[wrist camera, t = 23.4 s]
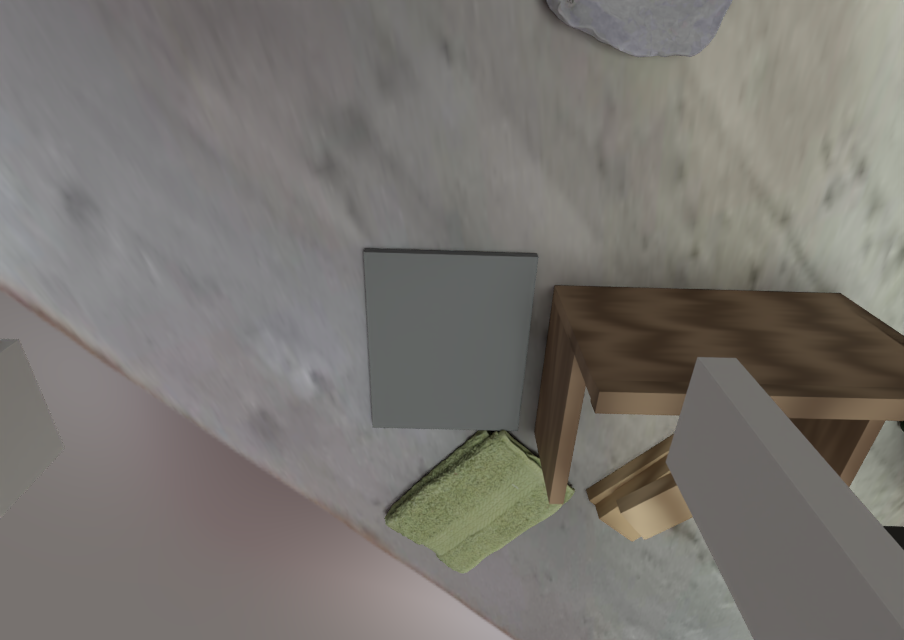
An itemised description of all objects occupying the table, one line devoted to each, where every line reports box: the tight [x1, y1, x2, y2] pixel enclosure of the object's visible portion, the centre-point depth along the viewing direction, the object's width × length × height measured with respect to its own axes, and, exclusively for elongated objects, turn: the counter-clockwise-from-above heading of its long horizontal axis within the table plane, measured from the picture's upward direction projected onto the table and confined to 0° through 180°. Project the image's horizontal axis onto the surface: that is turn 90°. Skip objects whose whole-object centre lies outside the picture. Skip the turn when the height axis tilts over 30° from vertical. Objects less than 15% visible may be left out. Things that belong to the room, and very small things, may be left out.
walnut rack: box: [534, 285, 904, 504], centre depth 42 cm, size 24×16×15 cm, turn 88°
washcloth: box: [384, 430, 575, 573], centre depth 55 cm, size 13×18×3 cm
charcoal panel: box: [364, 249, 538, 431], centre depth 47 cm, size 14×18×1 cm
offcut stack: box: [586, 434, 693, 542], centre depth 53 cm, size 14×6×5 cm, turn 135°
